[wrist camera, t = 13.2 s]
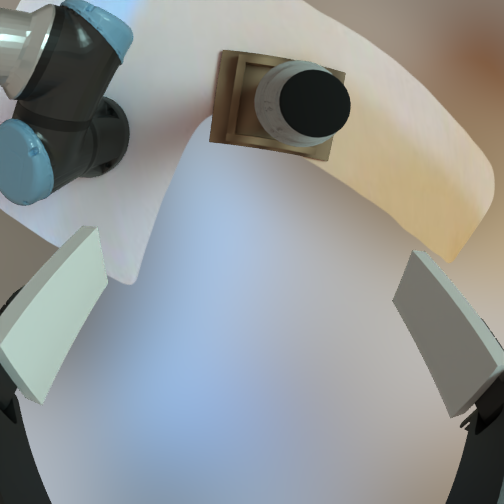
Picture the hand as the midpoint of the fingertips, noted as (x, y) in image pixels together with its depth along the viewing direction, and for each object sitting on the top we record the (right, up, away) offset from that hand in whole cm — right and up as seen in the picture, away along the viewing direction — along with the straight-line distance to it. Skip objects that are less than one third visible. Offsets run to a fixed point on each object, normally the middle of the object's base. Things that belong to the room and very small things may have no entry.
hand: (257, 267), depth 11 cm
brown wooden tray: (+4, +24, +30) cm, 39 cm away
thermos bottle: (+4, +24, +30) cm, 39 cm away
